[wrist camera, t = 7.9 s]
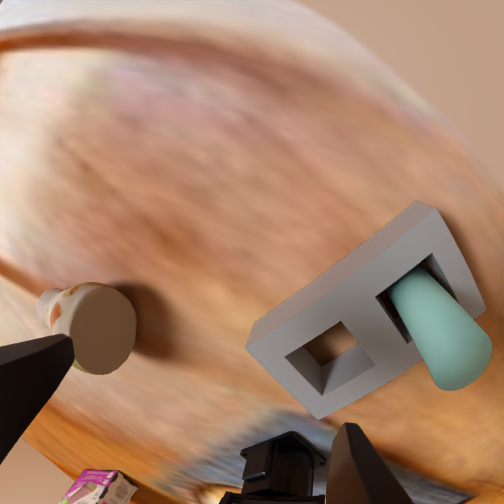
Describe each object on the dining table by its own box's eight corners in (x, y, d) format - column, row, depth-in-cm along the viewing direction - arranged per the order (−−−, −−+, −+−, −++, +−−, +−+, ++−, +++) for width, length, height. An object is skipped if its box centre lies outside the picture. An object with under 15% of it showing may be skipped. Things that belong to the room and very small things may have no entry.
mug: (47, 267, 25) (3, 281, 15) (140, 274, 28) (133, 294, 18) (50, 339, 25) (14, 381, 15) (139, 348, 28) (135, 397, 19)
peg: (429, 282, 19) (498, 361, 9) (397, 307, 20) (445, 401, 10) (410, 250, 18) (482, 317, 9) (375, 276, 19) (422, 363, 10)
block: (465, 289, 18) (486, 309, 15) (318, 390, 23) (317, 419, 19) (415, 200, 18) (436, 208, 14) (254, 322, 22) (245, 348, 18)
